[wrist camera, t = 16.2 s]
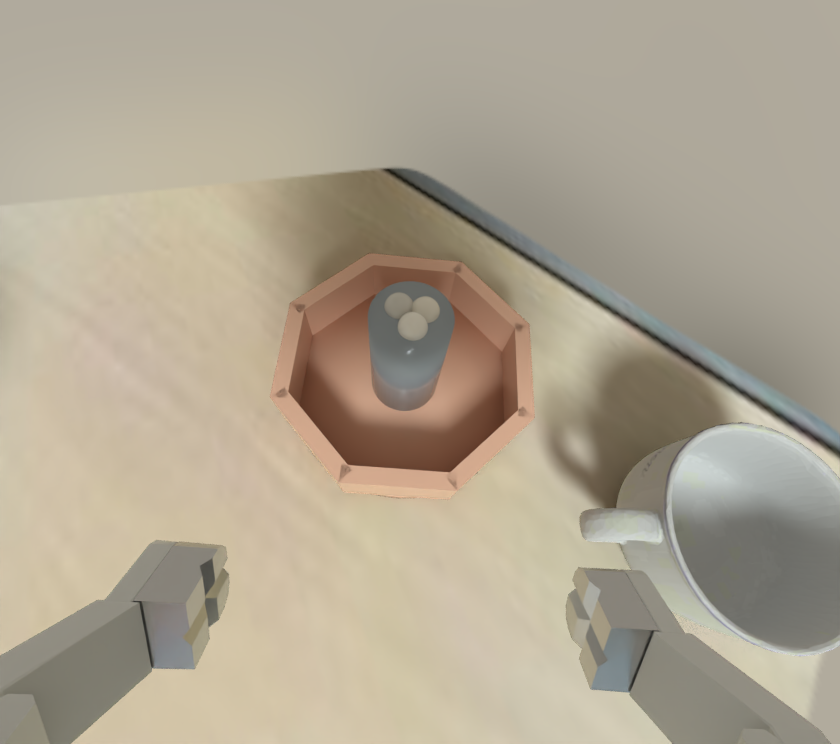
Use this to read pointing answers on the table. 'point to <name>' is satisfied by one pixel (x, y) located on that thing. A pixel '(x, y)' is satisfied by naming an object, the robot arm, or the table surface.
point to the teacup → (735, 535)
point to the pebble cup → (408, 343)
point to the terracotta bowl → (392, 429)
